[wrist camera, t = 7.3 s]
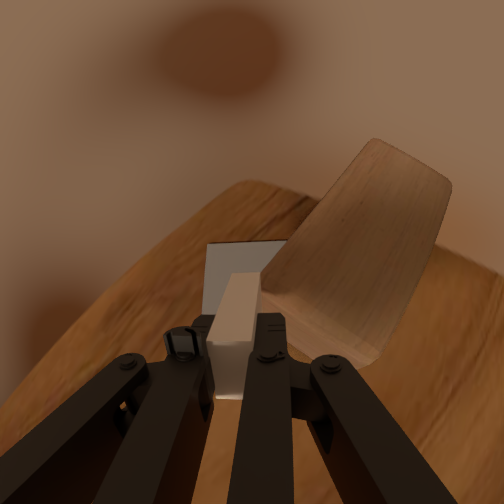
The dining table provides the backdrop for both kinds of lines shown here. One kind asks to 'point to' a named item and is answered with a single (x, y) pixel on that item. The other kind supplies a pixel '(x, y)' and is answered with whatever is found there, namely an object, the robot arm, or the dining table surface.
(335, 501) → the dining table surface
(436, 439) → the dining table surface
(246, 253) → the felt pad
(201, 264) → the dining table surface
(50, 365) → the dining table surface
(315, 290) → the wooden block
